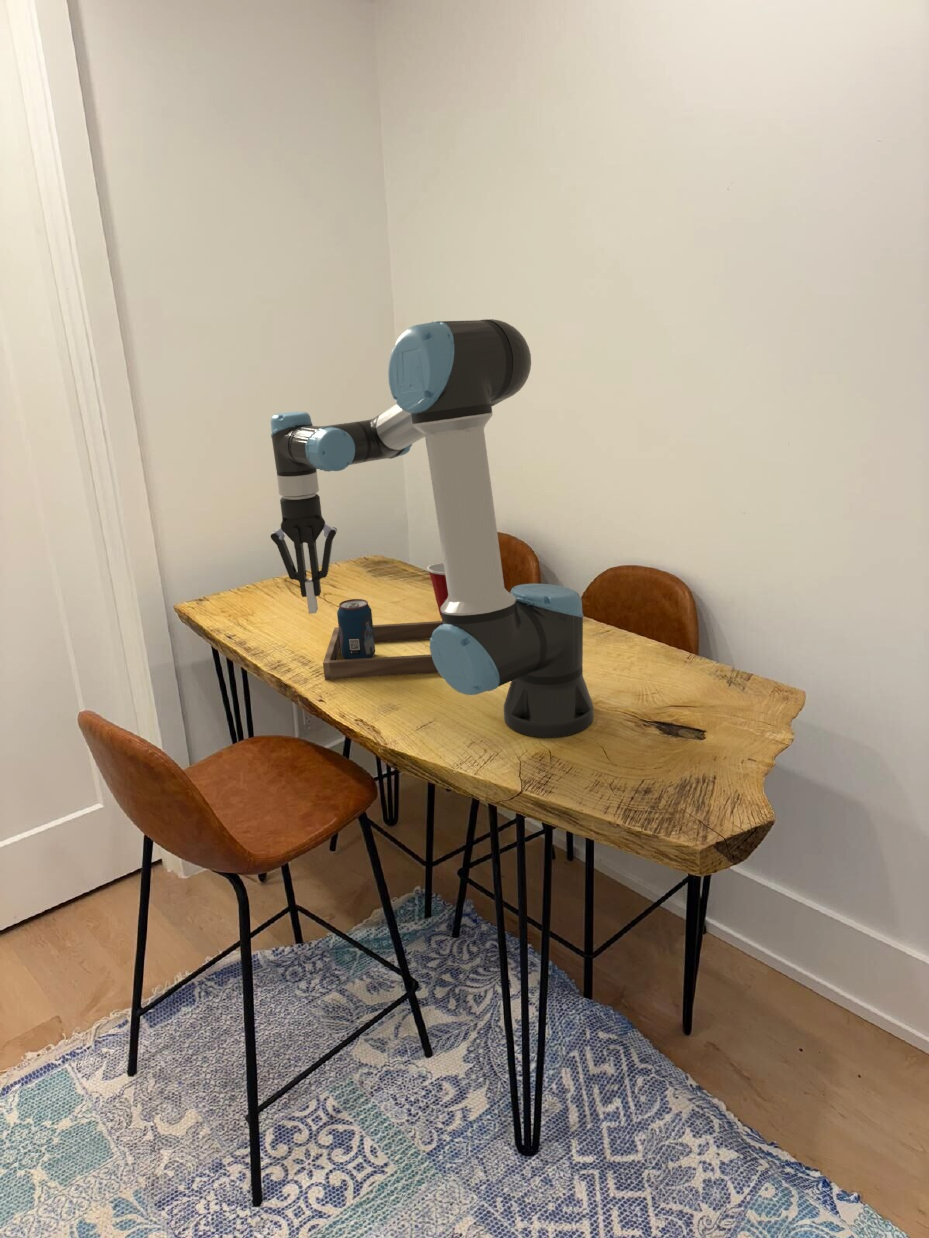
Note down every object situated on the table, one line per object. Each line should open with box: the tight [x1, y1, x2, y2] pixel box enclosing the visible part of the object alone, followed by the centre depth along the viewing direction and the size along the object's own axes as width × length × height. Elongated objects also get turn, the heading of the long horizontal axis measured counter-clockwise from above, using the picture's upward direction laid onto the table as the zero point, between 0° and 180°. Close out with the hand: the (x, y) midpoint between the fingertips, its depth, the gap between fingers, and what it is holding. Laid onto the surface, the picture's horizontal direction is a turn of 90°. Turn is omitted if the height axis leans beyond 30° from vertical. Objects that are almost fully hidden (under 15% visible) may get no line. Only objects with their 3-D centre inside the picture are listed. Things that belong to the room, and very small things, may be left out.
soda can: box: [336, 598, 376, 660], centre depth 170 cm, size 7×7×12 cm
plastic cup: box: [426, 562, 448, 619], centre depth 192 cm, size 11×11×12 cm
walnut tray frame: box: [322, 620, 442, 681], centre depth 172 cm, size 20×25×4 cm
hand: (313, 611), depth 168 cm, fingers closed
